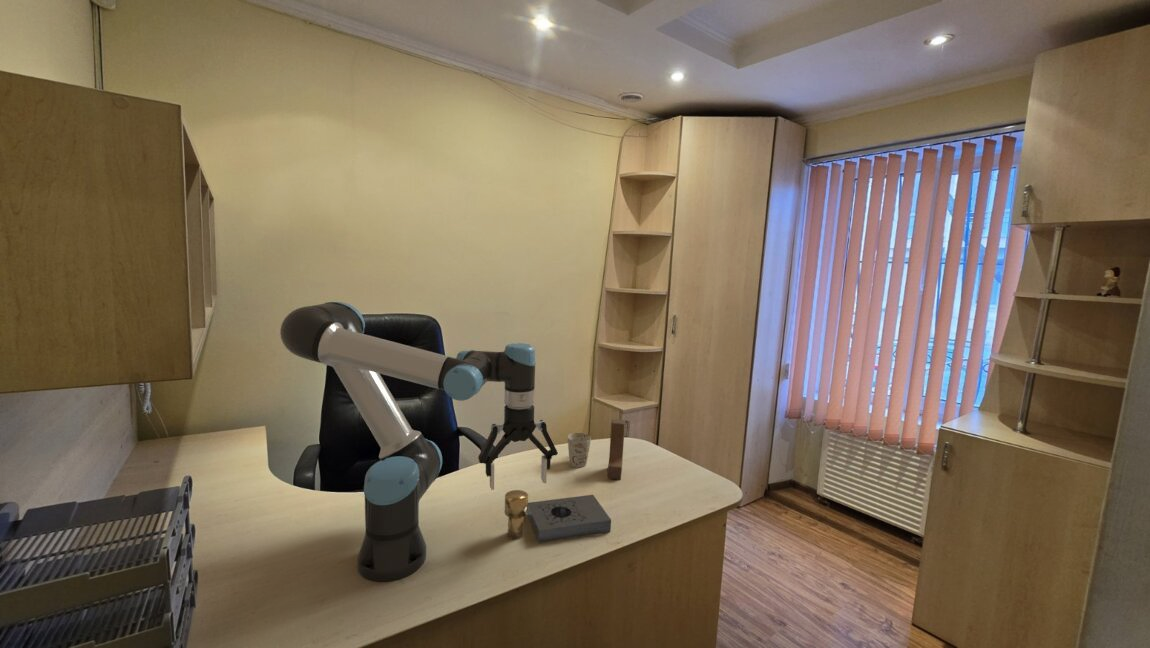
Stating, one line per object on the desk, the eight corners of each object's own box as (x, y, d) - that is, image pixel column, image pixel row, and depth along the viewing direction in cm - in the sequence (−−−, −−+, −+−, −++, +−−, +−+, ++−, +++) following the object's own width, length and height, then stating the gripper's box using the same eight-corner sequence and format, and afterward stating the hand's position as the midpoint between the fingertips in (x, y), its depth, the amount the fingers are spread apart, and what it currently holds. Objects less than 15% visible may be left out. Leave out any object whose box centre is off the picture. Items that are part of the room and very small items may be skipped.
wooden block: (620, 480, 157) (623, 428, 154) (607, 478, 157) (610, 427, 155) (622, 468, 165) (625, 419, 163) (609, 467, 166) (612, 418, 164)
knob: (506, 543, 120) (507, 502, 118) (502, 530, 125) (503, 491, 124) (529, 539, 121) (530, 500, 120) (524, 527, 127) (525, 488, 126)
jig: (538, 543, 120) (538, 530, 120) (526, 514, 133) (527, 502, 133) (610, 531, 127) (611, 519, 126) (592, 505, 140) (592, 494, 139)
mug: (564, 467, 164) (565, 440, 163) (570, 453, 177) (571, 427, 175) (587, 470, 163) (589, 442, 162) (592, 455, 175) (593, 430, 174)
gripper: (470, 413, 111) (470, 497, 114) (570, 406, 119) (568, 484, 122) (467, 403, 118) (467, 483, 121) (562, 397, 126) (560, 472, 129)
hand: (518, 484), depth 121 cm, fingers open, 13 cm apart
